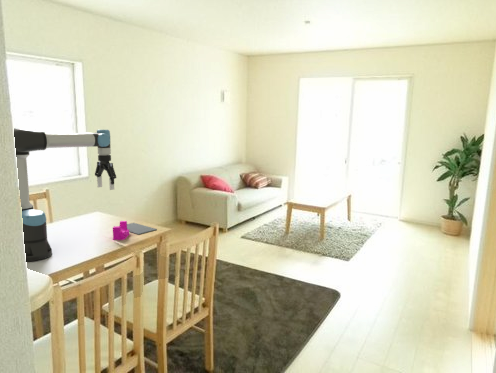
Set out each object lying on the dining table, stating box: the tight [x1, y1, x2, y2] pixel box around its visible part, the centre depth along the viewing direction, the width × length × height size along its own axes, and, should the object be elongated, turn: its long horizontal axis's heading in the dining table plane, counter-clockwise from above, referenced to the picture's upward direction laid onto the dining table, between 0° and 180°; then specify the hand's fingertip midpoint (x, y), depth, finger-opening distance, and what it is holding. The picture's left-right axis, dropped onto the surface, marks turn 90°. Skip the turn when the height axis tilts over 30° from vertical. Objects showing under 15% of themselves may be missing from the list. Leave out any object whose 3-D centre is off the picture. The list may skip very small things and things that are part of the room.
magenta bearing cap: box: [112, 220, 130, 241], centre depth 218 cm, size 15×6×8 cm, turn 2°
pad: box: [127, 222, 158, 235], centre depth 234 cm, size 14×24×1 cm, turn 53°
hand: (105, 188), depth 230 cm, fingers open, 13 cm apart
